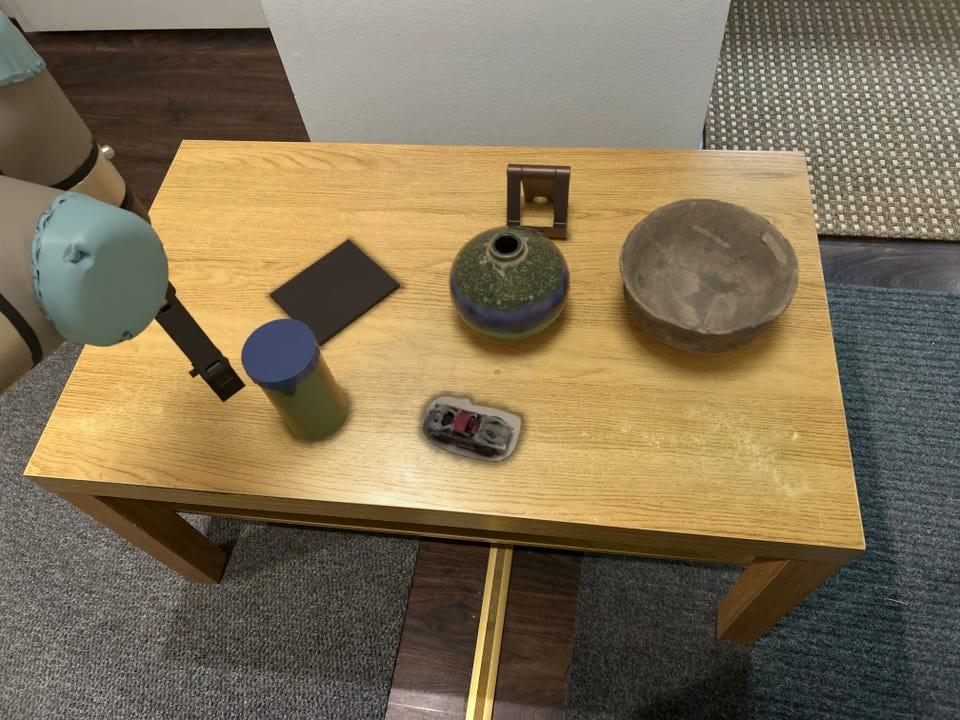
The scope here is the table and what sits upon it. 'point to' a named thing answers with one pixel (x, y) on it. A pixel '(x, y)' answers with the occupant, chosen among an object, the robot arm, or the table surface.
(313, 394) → the jar
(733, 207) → the bowl
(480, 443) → the toy car
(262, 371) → the lid
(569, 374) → the table surface
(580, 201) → the table surface
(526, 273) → the vase
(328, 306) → the mat
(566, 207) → the tablet stand
